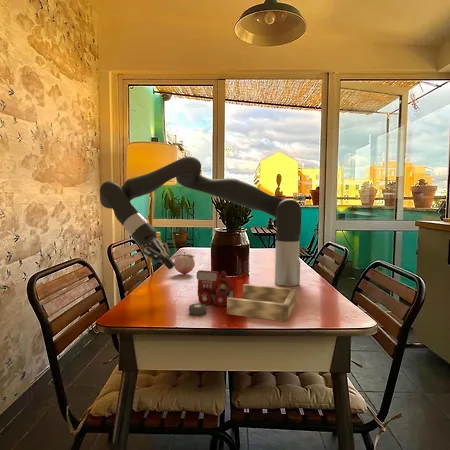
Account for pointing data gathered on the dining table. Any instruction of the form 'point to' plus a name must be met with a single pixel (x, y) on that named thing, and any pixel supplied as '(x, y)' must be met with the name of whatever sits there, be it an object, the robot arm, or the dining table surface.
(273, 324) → the dining table surface
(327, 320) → the dining table surface
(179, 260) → the decorative fruit
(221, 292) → the toy fire truck
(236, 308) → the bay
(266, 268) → the dining table surface
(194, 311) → the spare wheel
